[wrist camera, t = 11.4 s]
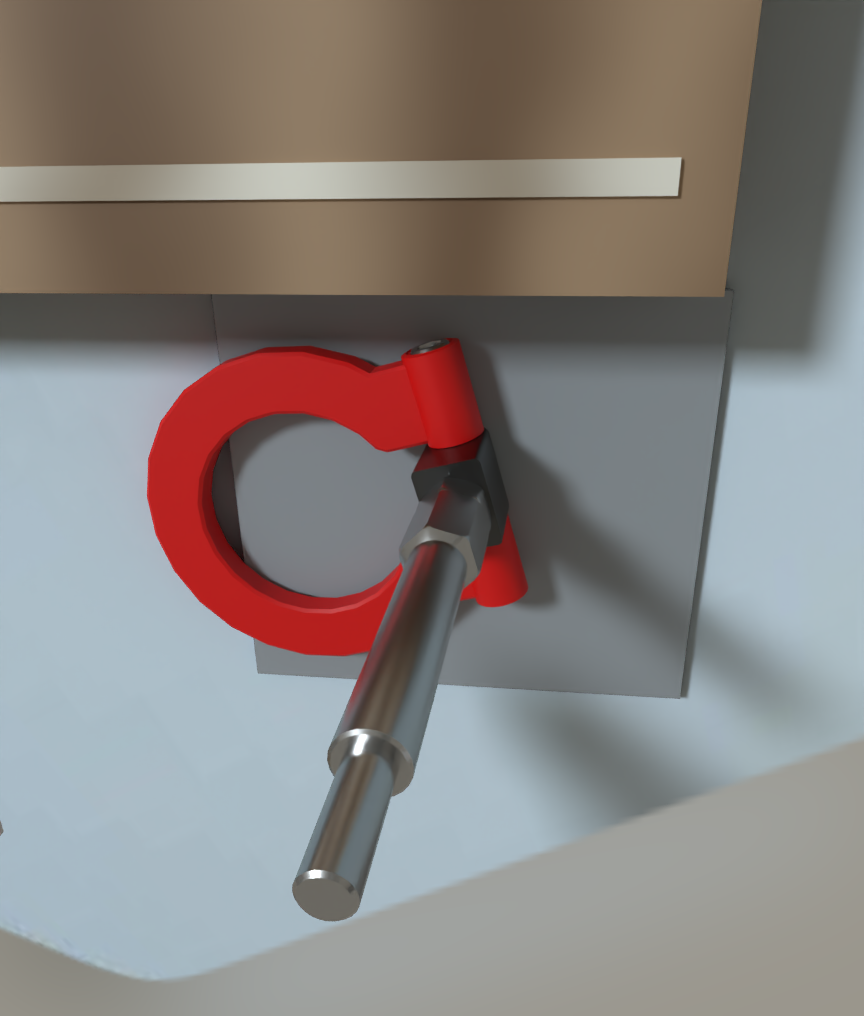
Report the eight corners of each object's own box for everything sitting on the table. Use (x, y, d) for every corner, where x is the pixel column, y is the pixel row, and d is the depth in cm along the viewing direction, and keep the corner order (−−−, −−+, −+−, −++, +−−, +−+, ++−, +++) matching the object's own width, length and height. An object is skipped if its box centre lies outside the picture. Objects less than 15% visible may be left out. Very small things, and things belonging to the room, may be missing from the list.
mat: (731, 288, 18) (734, 290, 18) (678, 692, 23) (680, 698, 23) (215, 286, 20) (210, 288, 19) (260, 667, 24) (257, 673, 24)
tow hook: (235, 654, 24) (542, 603, 22) (-85, 1132, 13) (493, 1138, 10) (116, 385, 21) (456, 291, 19) (-447, 690, 10) (251, 550, 7)
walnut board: (752, -334, 14) (828, -501, 10) (687, 265, 18) (725, 297, 15) (-369, -243, 17) (-628, -353, 13) (-205, 264, 21) (-367, 291, 17)
